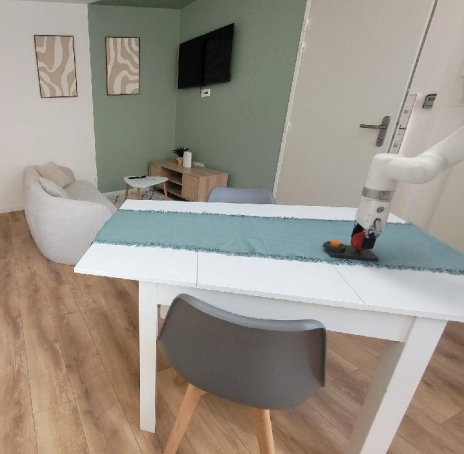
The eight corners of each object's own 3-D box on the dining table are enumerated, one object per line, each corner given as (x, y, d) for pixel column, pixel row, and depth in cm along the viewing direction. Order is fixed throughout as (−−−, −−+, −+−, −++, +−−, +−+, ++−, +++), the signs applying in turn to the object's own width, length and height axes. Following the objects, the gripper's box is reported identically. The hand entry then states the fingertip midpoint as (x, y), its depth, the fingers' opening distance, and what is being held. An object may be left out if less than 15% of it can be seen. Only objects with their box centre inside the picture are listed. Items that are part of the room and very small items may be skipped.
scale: (365, 250, 104) (368, 242, 102) (377, 262, 96) (380, 254, 95) (319, 245, 108) (321, 238, 107) (327, 257, 101) (329, 249, 99)
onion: (368, 256, 97) (376, 235, 94) (347, 251, 100) (353, 230, 97) (369, 250, 101) (377, 229, 97) (348, 245, 104) (355, 225, 101)
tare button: (338, 244, 103) (339, 240, 103) (341, 248, 101) (342, 244, 100) (328, 243, 104) (329, 239, 104) (331, 247, 102) (332, 243, 101)
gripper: (407, 202, 84) (387, 256, 91) (379, 186, 99) (363, 234, 106) (375, 201, 86) (358, 253, 93) (352, 185, 101) (338, 232, 108)
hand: (361, 242), depth 99 cm, fingers open, 7 cm apart
